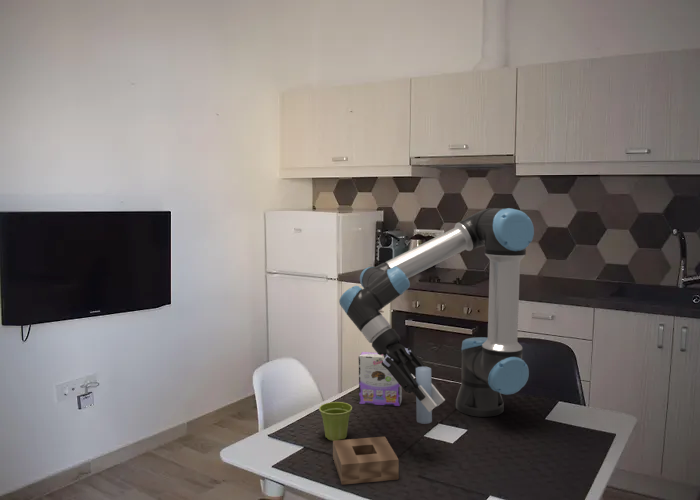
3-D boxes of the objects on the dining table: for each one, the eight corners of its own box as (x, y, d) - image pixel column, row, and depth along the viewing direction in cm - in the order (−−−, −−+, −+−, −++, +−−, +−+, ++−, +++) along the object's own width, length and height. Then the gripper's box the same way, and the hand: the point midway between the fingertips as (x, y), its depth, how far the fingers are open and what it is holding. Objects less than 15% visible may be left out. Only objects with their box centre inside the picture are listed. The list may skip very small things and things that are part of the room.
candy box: (402, 401, 198) (402, 353, 196) (399, 407, 192) (399, 357, 190) (362, 398, 201) (361, 350, 199) (358, 404, 195) (358, 355, 194)
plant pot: (348, 445, 163) (348, 414, 162) (315, 442, 165) (315, 412, 164) (355, 431, 172) (355, 402, 171) (323, 429, 174) (323, 400, 173)
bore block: (384, 454, 157) (384, 436, 156) (398, 479, 143) (398, 459, 143) (333, 459, 154) (332, 440, 154) (341, 484, 140) (341, 464, 140)
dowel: (429, 417, 157) (428, 366, 156) (433, 422, 153) (433, 370, 152) (414, 418, 156) (413, 367, 155) (419, 424, 152) (418, 371, 151)
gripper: (389, 337, 169) (442, 403, 161) (356, 351, 155) (412, 424, 147) (405, 321, 165) (460, 388, 157) (372, 333, 151) (431, 408, 143)
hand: (437, 405), depth 152 cm, fingers closed on dowel, 4 cm apart
